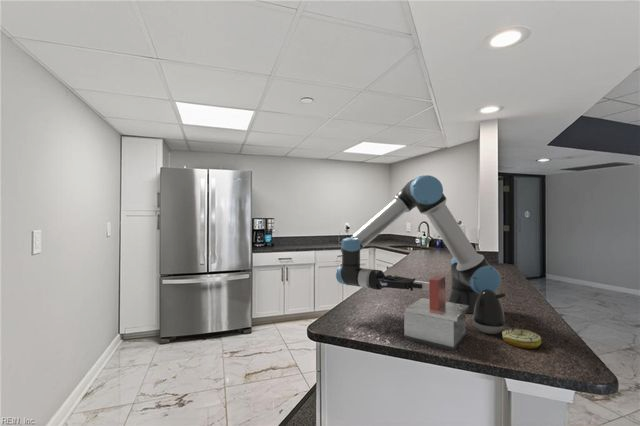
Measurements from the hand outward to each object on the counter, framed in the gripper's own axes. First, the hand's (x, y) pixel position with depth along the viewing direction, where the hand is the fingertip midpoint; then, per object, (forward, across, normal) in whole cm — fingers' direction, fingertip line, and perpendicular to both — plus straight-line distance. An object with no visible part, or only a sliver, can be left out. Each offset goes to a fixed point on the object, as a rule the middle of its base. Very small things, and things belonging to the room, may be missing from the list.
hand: (432, 287), depth 108 cm
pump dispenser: (+15, -16, -17) cm, 28 cm away
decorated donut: (+25, -11, -17) cm, 33 cm away
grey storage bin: (+1, 0, -17) cm, 17 cm away
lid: (+2, 0, -8) cm, 8 cm away
